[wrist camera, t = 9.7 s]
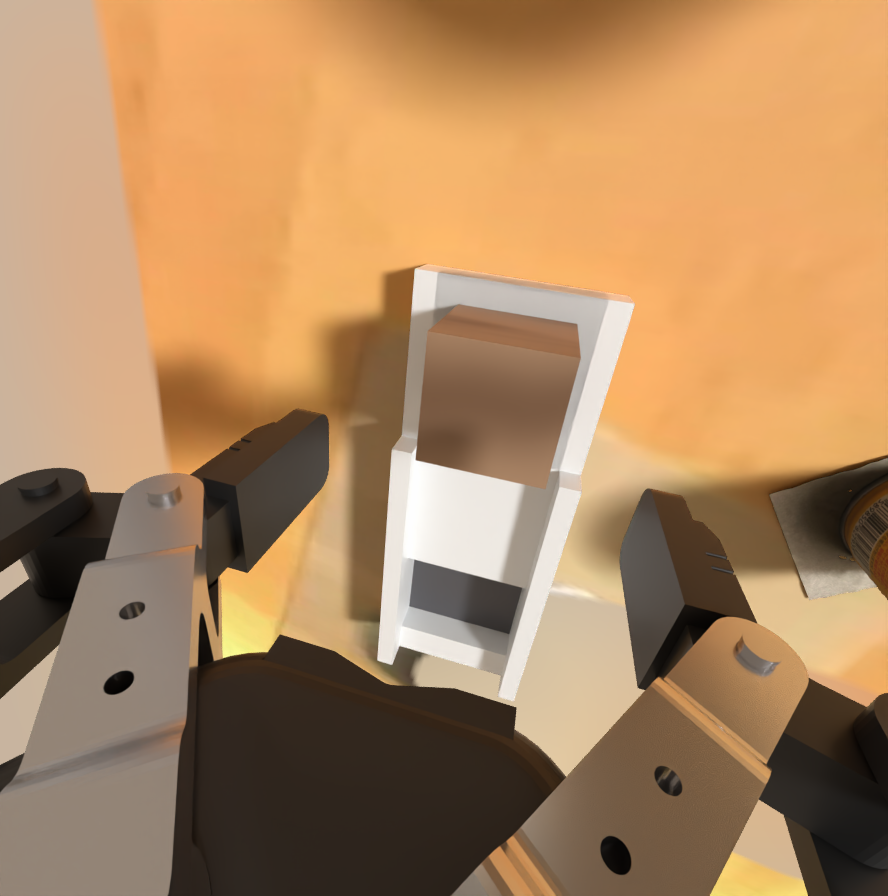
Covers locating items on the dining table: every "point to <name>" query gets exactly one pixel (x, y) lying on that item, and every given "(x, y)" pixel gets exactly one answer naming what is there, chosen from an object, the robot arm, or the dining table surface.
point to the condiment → (838, 530)
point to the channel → (487, 492)
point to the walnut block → (496, 393)
